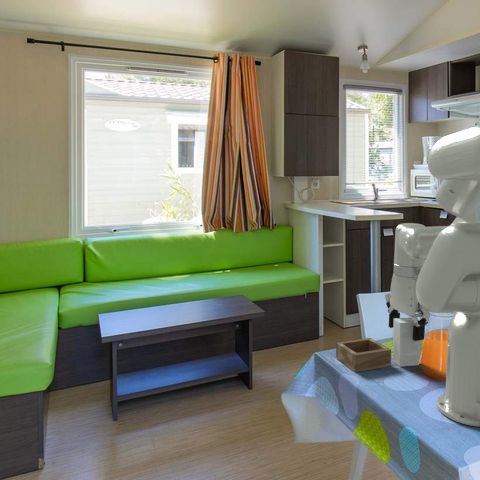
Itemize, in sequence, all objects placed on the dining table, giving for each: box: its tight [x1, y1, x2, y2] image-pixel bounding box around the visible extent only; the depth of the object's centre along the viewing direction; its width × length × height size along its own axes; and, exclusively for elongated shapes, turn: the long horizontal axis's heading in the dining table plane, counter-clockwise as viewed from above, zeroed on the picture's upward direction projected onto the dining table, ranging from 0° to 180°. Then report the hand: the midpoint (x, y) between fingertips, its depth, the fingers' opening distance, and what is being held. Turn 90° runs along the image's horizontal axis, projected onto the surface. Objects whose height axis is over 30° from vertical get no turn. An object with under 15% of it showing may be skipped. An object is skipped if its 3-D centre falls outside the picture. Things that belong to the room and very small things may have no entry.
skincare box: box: [392, 317, 422, 368], centre depth 116 cm, size 6×4×12 cm
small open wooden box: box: [335, 337, 392, 373], centre depth 117 cm, size 9×11×4 cm
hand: (405, 333), depth 116 cm, fingers open, 9 cm apart
